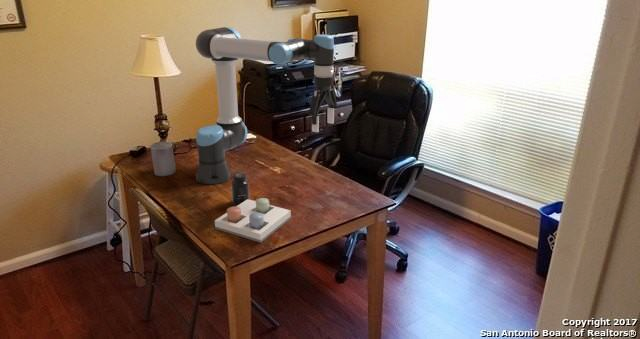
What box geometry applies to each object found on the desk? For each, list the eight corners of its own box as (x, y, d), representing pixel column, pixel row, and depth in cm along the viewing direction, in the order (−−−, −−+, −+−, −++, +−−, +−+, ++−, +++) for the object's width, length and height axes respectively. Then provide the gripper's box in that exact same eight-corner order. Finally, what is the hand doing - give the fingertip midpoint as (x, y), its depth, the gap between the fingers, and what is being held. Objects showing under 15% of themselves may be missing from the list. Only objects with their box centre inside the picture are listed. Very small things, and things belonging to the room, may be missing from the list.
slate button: (247, 227, 165) (246, 217, 164) (255, 221, 169) (254, 211, 168) (258, 230, 163) (258, 220, 162) (266, 224, 167) (266, 214, 166)
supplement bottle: (241, 207, 186) (240, 180, 181) (228, 203, 189) (226, 176, 184) (252, 201, 191) (251, 174, 186) (240, 197, 194) (238, 170, 190)
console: (215, 228, 170) (214, 220, 168) (248, 206, 186) (247, 199, 185) (260, 242, 161) (260, 234, 160) (290, 218, 177) (290, 210, 176)
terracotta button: (224, 220, 170) (223, 210, 168) (233, 215, 174) (232, 205, 172) (235, 223, 167) (235, 214, 166) (244, 218, 172) (243, 208, 170)
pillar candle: (164, 167, 224) (160, 137, 218) (180, 170, 220) (176, 140, 214) (149, 174, 216) (144, 143, 210) (165, 178, 212) (161, 147, 206)
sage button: (253, 211, 176) (253, 202, 175) (261, 206, 181) (260, 196, 179) (264, 214, 174) (264, 204, 173) (271, 209, 178) (271, 199, 177)
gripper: (317, 82, 172) (316, 137, 180) (345, 71, 192) (344, 121, 200) (299, 80, 175) (299, 134, 183) (329, 69, 195) (328, 118, 203)
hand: (323, 127), depth 192 cm, fingers open, 13 cm apart
